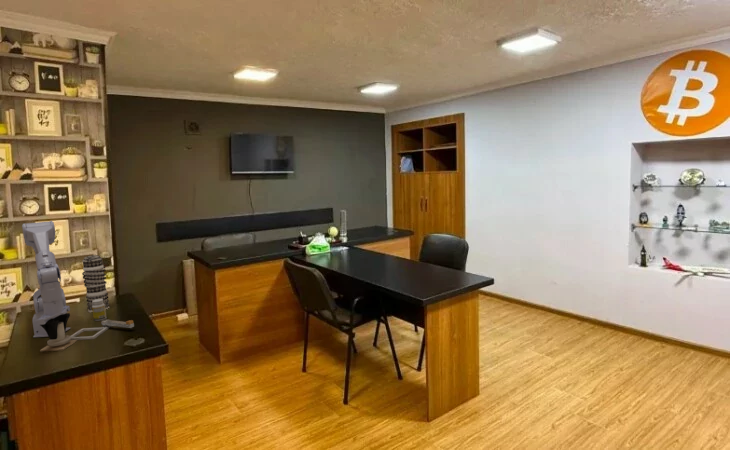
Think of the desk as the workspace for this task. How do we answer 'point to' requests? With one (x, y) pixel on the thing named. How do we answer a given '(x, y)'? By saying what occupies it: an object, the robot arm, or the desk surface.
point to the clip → (118, 323)
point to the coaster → (60, 347)
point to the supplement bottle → (98, 310)
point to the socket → (88, 336)
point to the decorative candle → (94, 280)
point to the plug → (59, 336)
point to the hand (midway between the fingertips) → (57, 336)
